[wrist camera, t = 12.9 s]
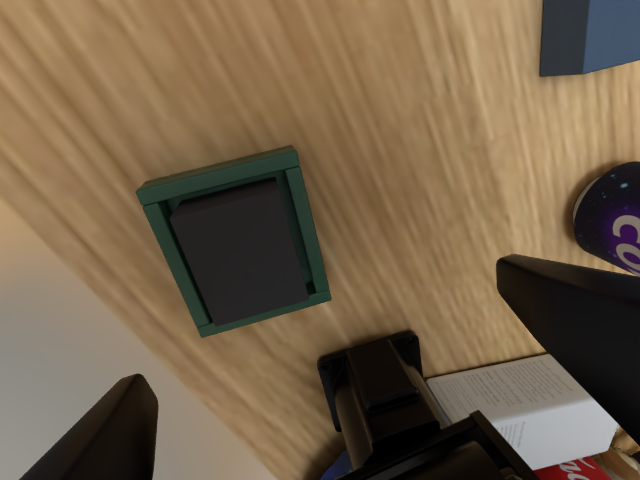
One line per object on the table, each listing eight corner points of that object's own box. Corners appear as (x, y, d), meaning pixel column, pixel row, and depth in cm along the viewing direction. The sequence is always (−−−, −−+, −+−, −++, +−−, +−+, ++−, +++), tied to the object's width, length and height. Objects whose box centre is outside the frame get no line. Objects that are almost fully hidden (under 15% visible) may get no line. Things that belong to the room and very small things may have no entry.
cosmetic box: (418, 436, 26) (556, 402, 28) (450, 499, 22) (609, 454, 24) (423, 374, 24) (575, 342, 26) (461, 433, 20) (637, 389, 22)
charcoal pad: (302, 275, 19) (309, 300, 16) (219, 298, 18) (215, 327, 16) (275, 176, 16) (279, 189, 14) (180, 200, 16) (168, 218, 14)
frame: (325, 284, 20) (332, 300, 18) (204, 319, 19) (201, 338, 18) (292, 144, 16) (296, 150, 15) (145, 181, 16) (134, 191, 14)
